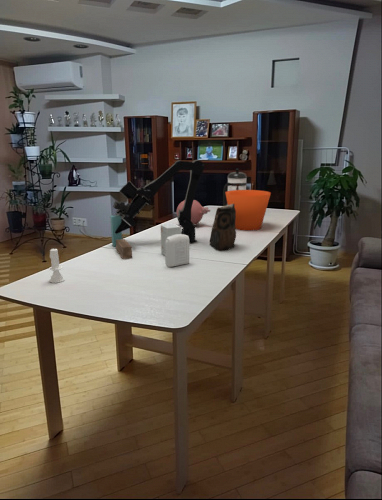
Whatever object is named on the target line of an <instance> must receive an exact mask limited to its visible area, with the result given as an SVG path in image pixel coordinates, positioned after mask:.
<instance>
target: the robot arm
mask: <svg viewBox="0 0 382 500" xmlns="http://www.w3.org/2000/svg"><path fill="white" fill-rule="evenodd" d="M181 170H184V171H185V170H186V171H189V174H190V175H189V181H188V185H187V190H186V194H185V198H184V200H185V202H184V206H183V208H182V210H179V213H178V216H177V215H176V218H177V222H178V225H179V226H180V227H181V234H184V235H187V236H188V237H189V244H192V243H195V242H198V239H196V225H194V224H193V223H192V222H191V208H192V204H193V200H195V196H196V192H197V191H196V190H197V187H198V183H199V180H200V178H201V177H202V174H203V172H204V170H205V164H204V163H203V161H201V160H200V159H194V160H193V161H188V160H186V161H185V160H176V161H175V162H174V163H173V164H172V165H171V166H170V167H168V169H166V170H165V171H164V172H163V173H162V174H161V175H160V176H159V177H157V178H156V179H154V180H151V182H148V183H147V184H146V185H144V186H143V187H138V188H137V187H136V186H135V185H134V184H133V183H132V182H131V180H128V181H127V183H125V185H123V186H122V187H121V188H120V189H119V191H118V192H119V193H120V194H121V195H122V196H123V197H125V198H126V199H127V200H131V201H130V203H129V202H127V203H126V204H125V202H123V201H117V200H115V201H114V202H113V206H112V208H113V209H115V210H116V211H115V215H119V216H121V223H120V225H119V226H118V228H117V229H116V231H115V233H116V234H118V233H120V232H122V233H123V232H124V231H126V230H129V229H132V228H134V227H135V226H136V224H137V222H136V220H135V217H136V216H137V215H139V214H140V213H141V210H142V209H143V208H144V207H145V206H146V204H147V205H148V206H151V201H152V200H151V199H152V198H154V196H155V195H156V194H157V193H158V192H159V190H161V187H162V186H164V184H166V183H167V182H168V181H169V180H171V178H172V177H173V176H175V175H176V174H177V173H178V172H179V171H181Z"/></svg>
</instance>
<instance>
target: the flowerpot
mask: <svg viewBox="0 0 382 500" xmlns="http://www.w3.org/2000/svg"><path fill="white" fill-rule="evenodd" d="M225 193H226V204H227V203H228V205H231V204H235V206H234V207H235V210H236V220H235V227H236V231H237V230H238V231H243V232H244V231H247V232H249V231H258V230H261V229H262V227H263V221H264V219H265V215H266V212H267V209H268V204H269V200H270V197H271V194H272V192H270V191H267V190H257V189H246V190H232V191H227V190H226V192H225Z"/></svg>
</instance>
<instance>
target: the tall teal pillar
mask: <svg viewBox="0 0 382 500" xmlns="http://www.w3.org/2000/svg"><path fill="white" fill-rule="evenodd" d="M109 219H110V230H111V231H110V232H111V244H112V247H115V248H116V240H120V239H123V237H122V235H123V234H122V233H123V231H122V232H120V233H118V234H116V233H115V231H116V229H117V228H118V226H119V225H120V223H121V216H119V215H116V214H115V215H110V218H109Z"/></svg>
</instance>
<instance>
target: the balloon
mask: <svg viewBox="0 0 382 500" xmlns="http://www.w3.org/2000/svg"><path fill="white" fill-rule="evenodd" d="M184 202H185V199H184V200H183V201H181V202H180V203H179V204H178V206H177V208H176V217H177V216H178V213H179V210H182V208H183V206H184ZM210 212H211V209H209V207H207V206H206V207H204V206H202V205H201V203H200V202H199V201H198V200H196V199H194V200H193V204H192V208H191V222H192V223H193V224H194V226H196V225H197V224H199V223H200V222H201V221H202V220H203V217H204V215H206V214H208V213H210Z"/></svg>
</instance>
